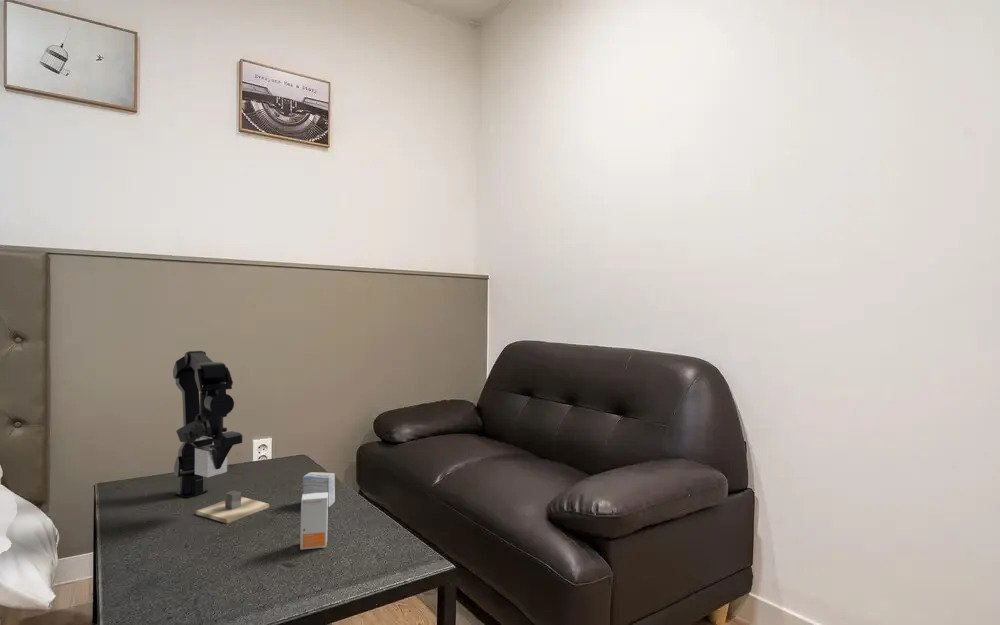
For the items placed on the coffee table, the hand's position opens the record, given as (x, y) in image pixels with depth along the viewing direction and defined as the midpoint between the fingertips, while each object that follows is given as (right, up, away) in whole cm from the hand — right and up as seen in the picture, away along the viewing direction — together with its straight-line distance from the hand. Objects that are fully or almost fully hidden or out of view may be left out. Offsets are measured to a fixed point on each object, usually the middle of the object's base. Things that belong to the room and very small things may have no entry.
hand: (211, 467), depth 147 cm
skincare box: (+34, -14, -18) cm, 41 cm away
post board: (+4, -13, +3) cm, 14 cm away
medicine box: (+26, -14, +9) cm, 31 cm away
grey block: (0, -2, 0) cm, 2 cm away
